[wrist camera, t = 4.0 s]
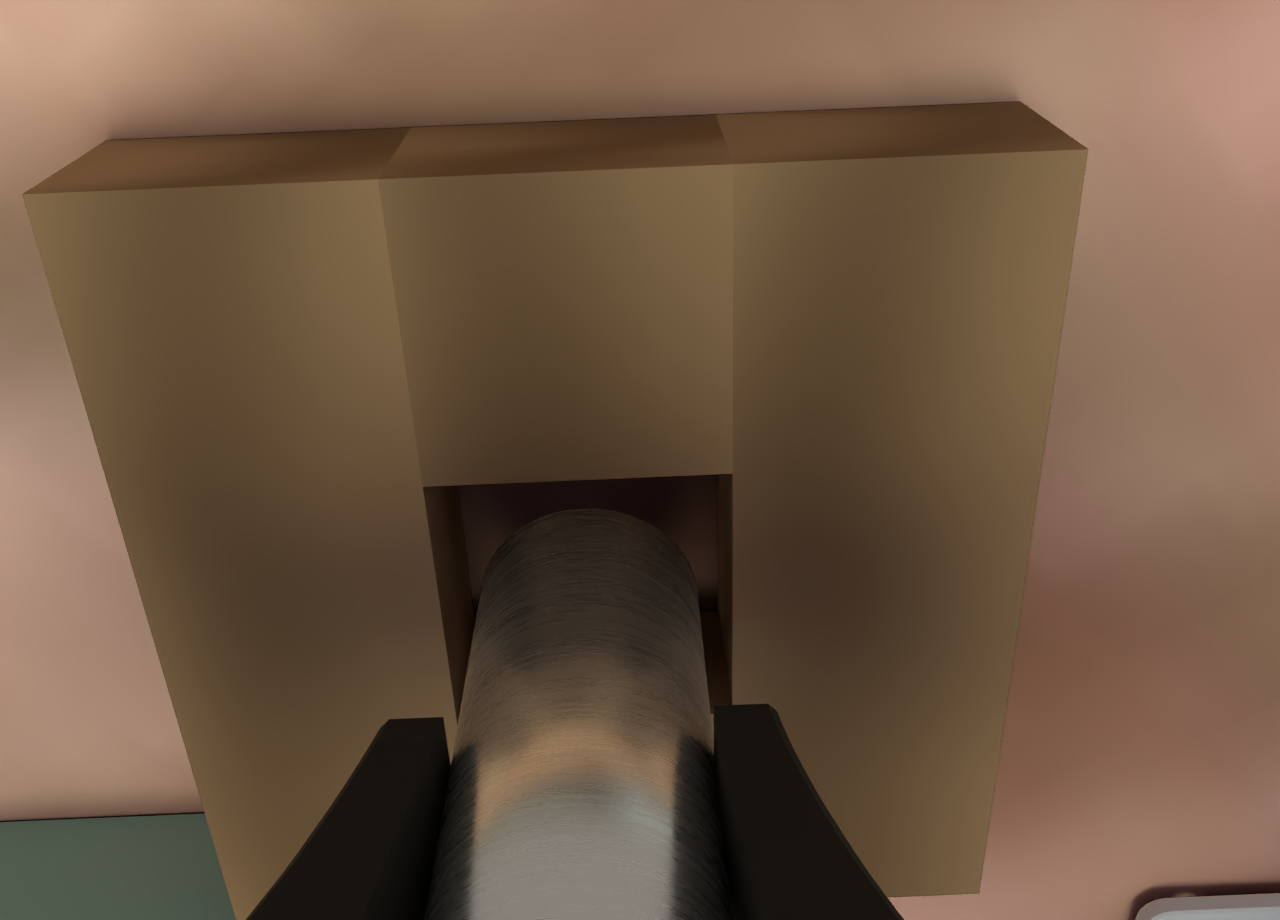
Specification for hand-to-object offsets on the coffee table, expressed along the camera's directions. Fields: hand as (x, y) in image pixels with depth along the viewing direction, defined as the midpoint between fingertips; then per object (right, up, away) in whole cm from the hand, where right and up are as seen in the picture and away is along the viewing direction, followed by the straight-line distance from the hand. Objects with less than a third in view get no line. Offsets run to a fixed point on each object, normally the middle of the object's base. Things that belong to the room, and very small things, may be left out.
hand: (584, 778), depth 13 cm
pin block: (0, +3, +5) cm, 6 cm away
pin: (0, +2, +3) cm, 3 cm away
